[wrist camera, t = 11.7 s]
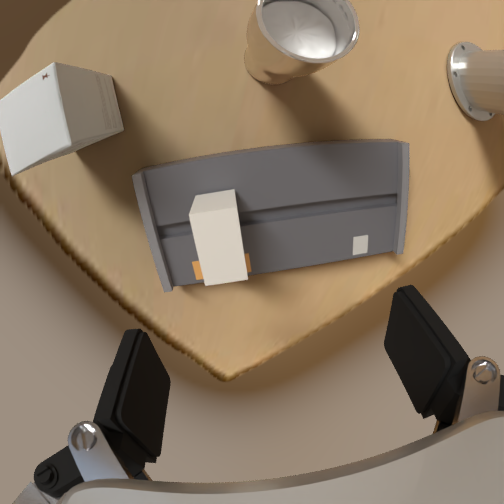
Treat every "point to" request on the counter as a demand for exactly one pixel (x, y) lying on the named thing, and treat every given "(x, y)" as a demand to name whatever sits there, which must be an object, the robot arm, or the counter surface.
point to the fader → (218, 237)
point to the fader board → (281, 204)
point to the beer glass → (298, 37)
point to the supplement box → (57, 115)
